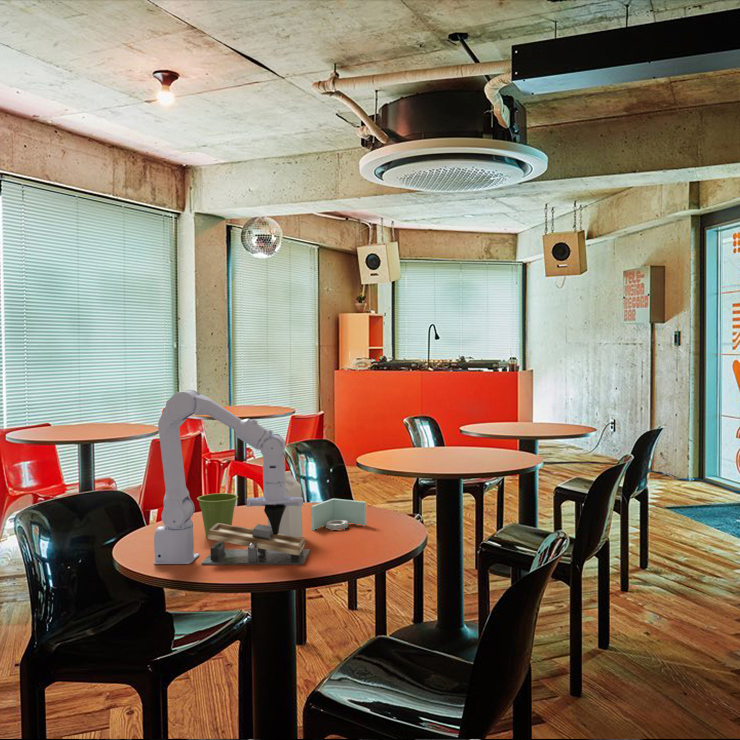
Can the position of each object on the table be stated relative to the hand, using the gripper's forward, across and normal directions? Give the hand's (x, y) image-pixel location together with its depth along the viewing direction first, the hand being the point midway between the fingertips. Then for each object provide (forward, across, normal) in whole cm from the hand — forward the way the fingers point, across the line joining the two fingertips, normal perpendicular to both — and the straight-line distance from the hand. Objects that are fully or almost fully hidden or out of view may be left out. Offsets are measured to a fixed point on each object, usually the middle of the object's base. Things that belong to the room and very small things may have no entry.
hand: (275, 533), depth 178 cm
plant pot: (+6, -22, +23) cm, 32 cm away
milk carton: (+6, -1, +18) cm, 19 cm away
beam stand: (+6, -5, 0) cm, 8 cm away
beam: (+2, -5, 0) cm, 5 cm away
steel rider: (+1, -4, 0) cm, 4 cm away
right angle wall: (+7, +13, +30) cm, 34 cm away
